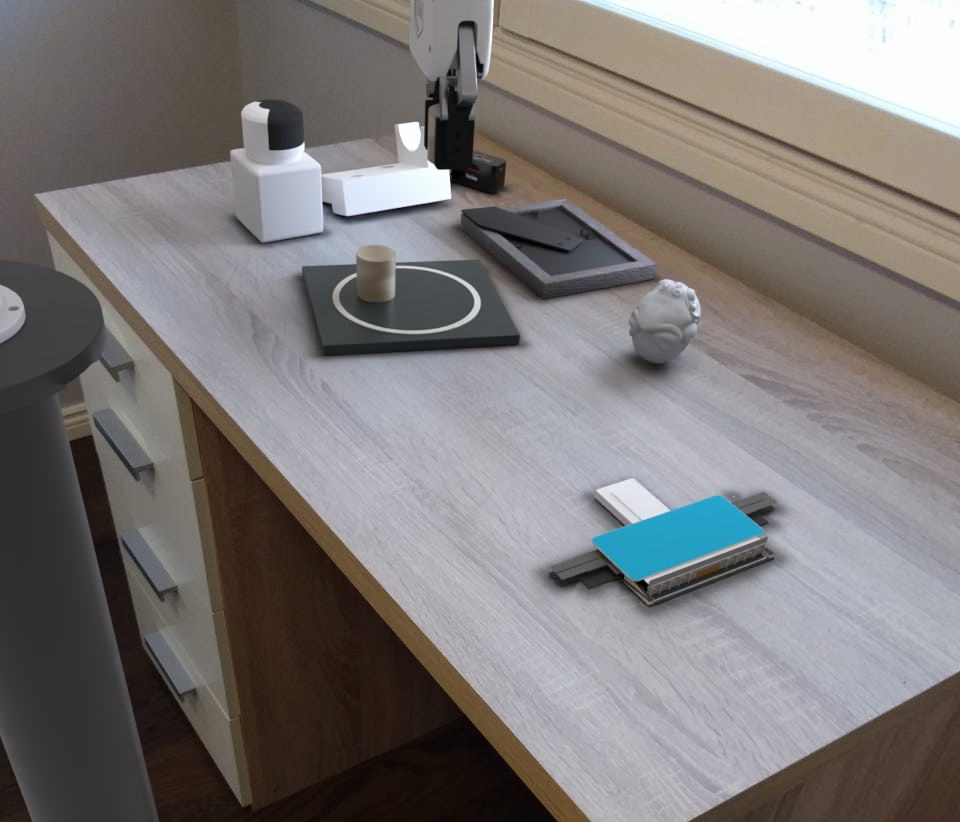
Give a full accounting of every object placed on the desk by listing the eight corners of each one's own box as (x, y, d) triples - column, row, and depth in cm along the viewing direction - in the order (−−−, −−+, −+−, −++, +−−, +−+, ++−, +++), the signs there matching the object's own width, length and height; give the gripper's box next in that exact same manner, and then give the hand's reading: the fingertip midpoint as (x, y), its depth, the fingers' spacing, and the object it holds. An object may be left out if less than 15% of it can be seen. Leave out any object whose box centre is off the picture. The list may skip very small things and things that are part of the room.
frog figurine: (705, 358, 97) (722, 286, 92) (661, 384, 93) (677, 310, 89) (651, 334, 100) (665, 263, 95) (607, 358, 96) (619, 285, 91)
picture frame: (460, 227, 115) (543, 299, 104) (461, 209, 114) (545, 279, 102) (564, 212, 120) (654, 278, 109) (566, 194, 119) (657, 260, 108)
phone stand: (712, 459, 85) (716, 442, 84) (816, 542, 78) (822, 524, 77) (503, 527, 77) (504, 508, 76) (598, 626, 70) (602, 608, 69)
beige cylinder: (431, 167, 89) (433, 117, 86) (423, 152, 92) (424, 103, 89) (473, 167, 90) (476, 117, 87) (463, 151, 92) (466, 102, 90)
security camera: (296, 208, 116) (290, 90, 108) (324, 233, 112) (320, 112, 103) (235, 218, 113) (223, 97, 105) (261, 244, 109) (251, 121, 100)
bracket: (421, 193, 124) (414, 121, 120) (451, 198, 118) (445, 124, 115) (319, 209, 118) (309, 135, 114) (346, 216, 113) (336, 138, 109)
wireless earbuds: (456, 173, 127) (457, 144, 124) (506, 189, 124) (508, 160, 122) (433, 183, 124) (434, 155, 121) (484, 200, 121) (486, 171, 119)
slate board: (323, 355, 93) (322, 344, 92) (302, 275, 104) (301, 264, 103) (519, 344, 97) (520, 333, 96) (478, 268, 108) (479, 257, 107)
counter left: (360, 303, 98) (359, 262, 95) (354, 286, 101) (353, 245, 98) (398, 302, 99) (398, 260, 96) (391, 284, 101) (391, 244, 99)
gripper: (389, -121, 83) (388, 126, 96) (430, -76, 71) (423, 197, 84) (481, -117, 85) (468, 125, 97) (536, -73, 73) (513, 195, 86)
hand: (447, 156), depth 90 cm, fingers closed on beige cylinder, 3 cm apart
